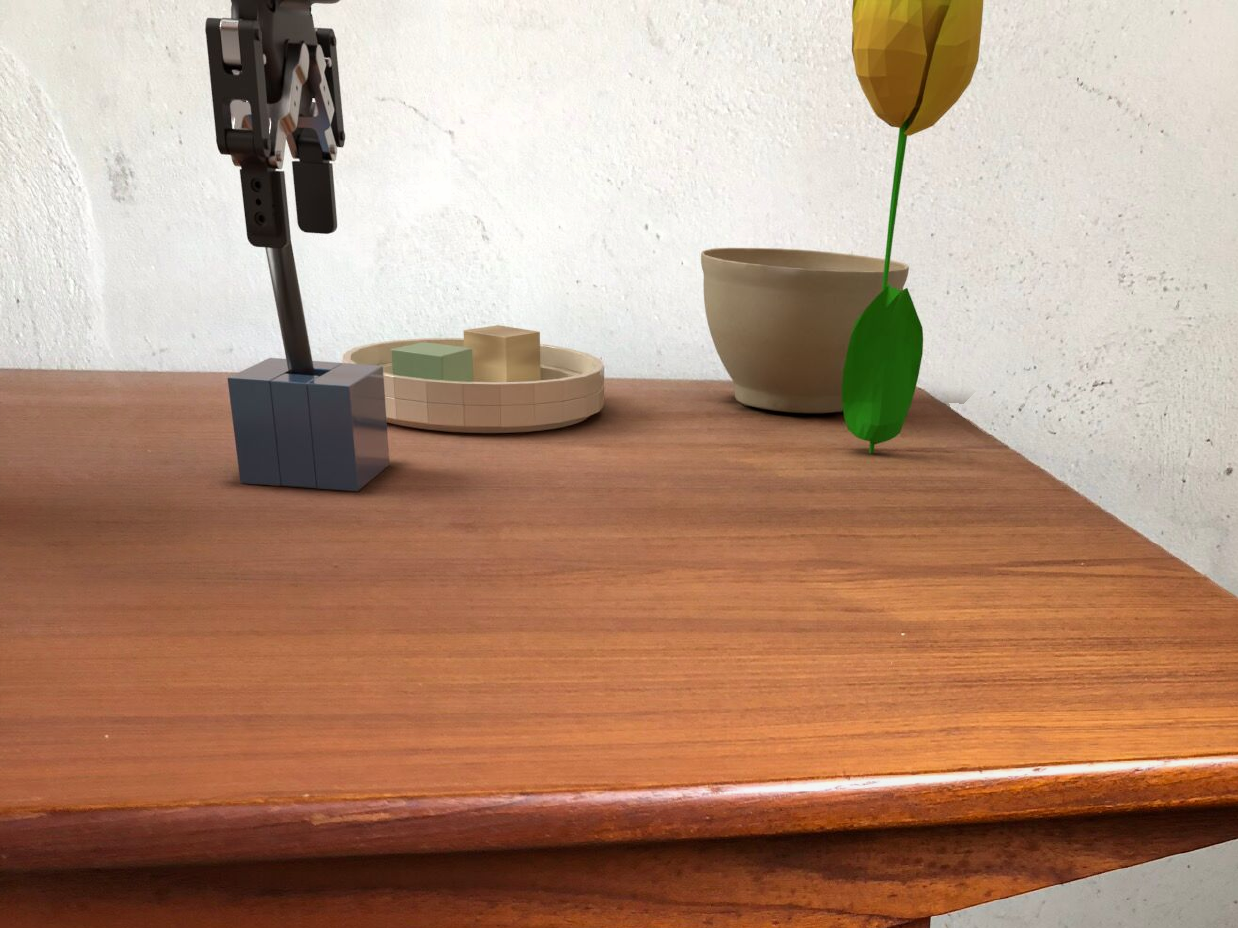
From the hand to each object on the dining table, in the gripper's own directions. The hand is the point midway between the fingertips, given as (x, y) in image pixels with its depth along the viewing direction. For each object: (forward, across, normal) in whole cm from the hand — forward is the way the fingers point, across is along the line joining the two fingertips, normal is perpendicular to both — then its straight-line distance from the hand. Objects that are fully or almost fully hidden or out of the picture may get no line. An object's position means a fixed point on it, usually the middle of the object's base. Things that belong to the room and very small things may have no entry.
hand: (295, 239), depth 81 cm
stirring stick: (+13, 0, 0) cm, 13 cm away
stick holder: (+13, 0, 0) cm, 13 cm away
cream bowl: (+13, -23, +5) cm, 27 cm away
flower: (+13, -17, +35) cm, 41 cm away
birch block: (+12, -28, +6) cm, 32 cm away
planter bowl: (+13, -33, +29) cm, 46 cm away
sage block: (+12, -18, +3) cm, 22 cm away
